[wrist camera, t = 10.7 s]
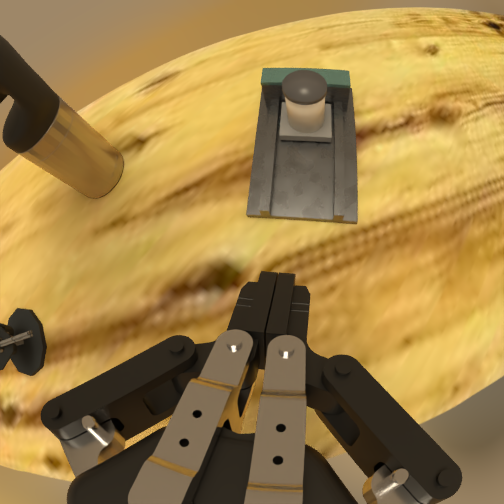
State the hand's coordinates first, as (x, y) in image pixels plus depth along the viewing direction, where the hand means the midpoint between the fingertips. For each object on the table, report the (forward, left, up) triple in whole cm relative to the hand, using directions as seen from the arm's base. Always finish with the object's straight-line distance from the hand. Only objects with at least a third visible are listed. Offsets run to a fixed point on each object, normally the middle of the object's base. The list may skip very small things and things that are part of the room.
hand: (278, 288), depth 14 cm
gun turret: (-43, -12, -24) cm, 51 cm away
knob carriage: (0, +25, -23) cm, 34 cm away
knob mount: (0, +22, -24) cm, 32 cm away
